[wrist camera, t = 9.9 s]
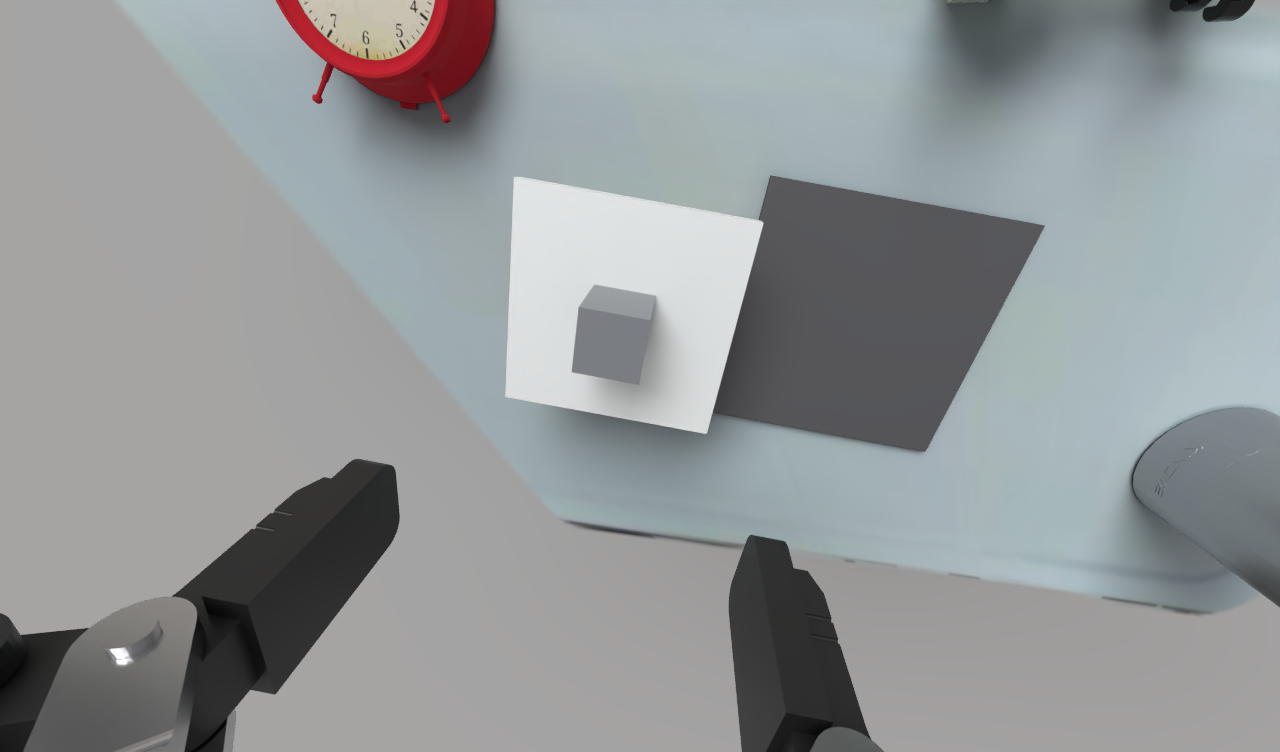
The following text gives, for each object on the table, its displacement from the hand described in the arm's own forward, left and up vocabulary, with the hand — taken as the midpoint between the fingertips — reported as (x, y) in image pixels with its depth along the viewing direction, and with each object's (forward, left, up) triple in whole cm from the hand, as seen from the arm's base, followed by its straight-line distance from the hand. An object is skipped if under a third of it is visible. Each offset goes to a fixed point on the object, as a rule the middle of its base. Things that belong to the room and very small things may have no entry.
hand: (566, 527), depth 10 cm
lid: (+1, 0, -16) cm, 16 cm away
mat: (-14, 0, -22) cm, 26 cm away
